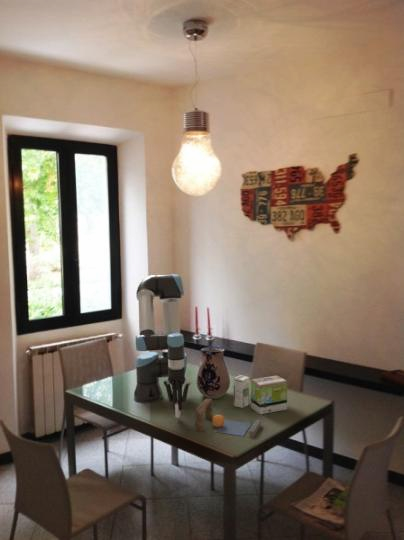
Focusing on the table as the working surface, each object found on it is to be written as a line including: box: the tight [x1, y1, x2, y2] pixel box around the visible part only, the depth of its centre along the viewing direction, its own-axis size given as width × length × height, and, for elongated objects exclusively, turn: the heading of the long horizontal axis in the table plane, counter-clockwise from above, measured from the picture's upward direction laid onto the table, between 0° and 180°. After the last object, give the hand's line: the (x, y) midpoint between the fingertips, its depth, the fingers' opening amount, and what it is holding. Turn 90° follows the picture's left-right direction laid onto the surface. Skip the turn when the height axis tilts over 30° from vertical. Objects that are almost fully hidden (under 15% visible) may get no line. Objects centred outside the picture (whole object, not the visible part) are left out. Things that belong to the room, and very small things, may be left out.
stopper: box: [248, 419, 262, 438], centre depth 214 cm, size 2×12×2 cm, turn 159°
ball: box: [211, 414, 226, 428], centre depth 219 cm, size 6×6×6 cm
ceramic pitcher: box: [196, 345, 231, 400], centre depth 258 cm, size 18×21×25 cm
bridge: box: [194, 398, 214, 432], centre depth 223 cm, size 3×14×9 cm, turn 159°
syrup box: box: [233, 374, 250, 409], centre depth 243 cm, size 6×6×14 cm
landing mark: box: [214, 419, 252, 437], centre depth 218 cm, size 13×13×1 cm
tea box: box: [250, 375, 288, 415], centre depth 238 cm, size 15×10×15 cm
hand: (178, 416), depth 228 cm, fingers closed
